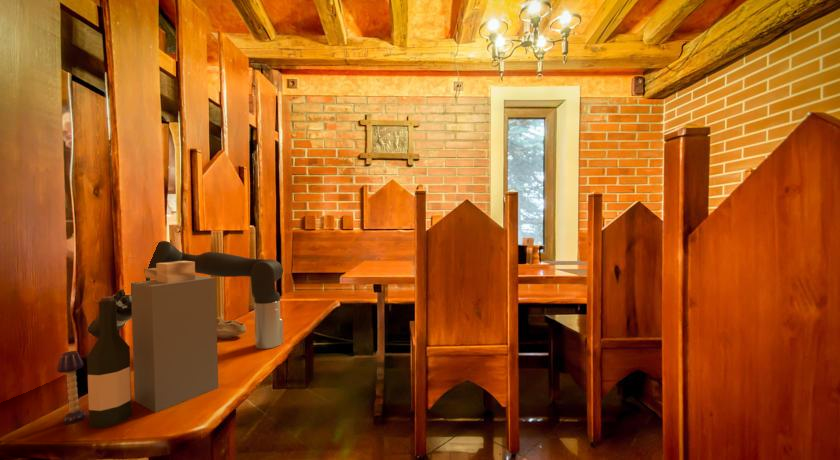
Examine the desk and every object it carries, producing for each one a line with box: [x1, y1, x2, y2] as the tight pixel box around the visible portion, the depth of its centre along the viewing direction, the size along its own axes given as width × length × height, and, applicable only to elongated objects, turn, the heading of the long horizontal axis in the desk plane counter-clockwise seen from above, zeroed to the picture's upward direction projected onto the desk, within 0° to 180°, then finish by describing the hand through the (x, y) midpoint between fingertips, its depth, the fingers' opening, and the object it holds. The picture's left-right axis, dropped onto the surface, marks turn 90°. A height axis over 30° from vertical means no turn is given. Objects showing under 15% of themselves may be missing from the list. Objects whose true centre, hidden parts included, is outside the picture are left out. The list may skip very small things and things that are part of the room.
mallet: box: [144, 261, 196, 283], centre depth 105 cm, size 7×19×5 cm, turn 58°
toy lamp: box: [56, 350, 87, 425], centre depth 89 cm, size 5×5×17 cm
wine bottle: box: [86, 295, 133, 429], centre depth 89 cm, size 8×8×30 cm
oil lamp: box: [217, 316, 248, 339], centre depth 155 cm, size 11×15×8 cm
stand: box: [131, 274, 219, 413], centre depth 102 cm, size 16×12×32 cm
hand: (139, 289), depth 113 cm, fingers open, 8 cm apart
